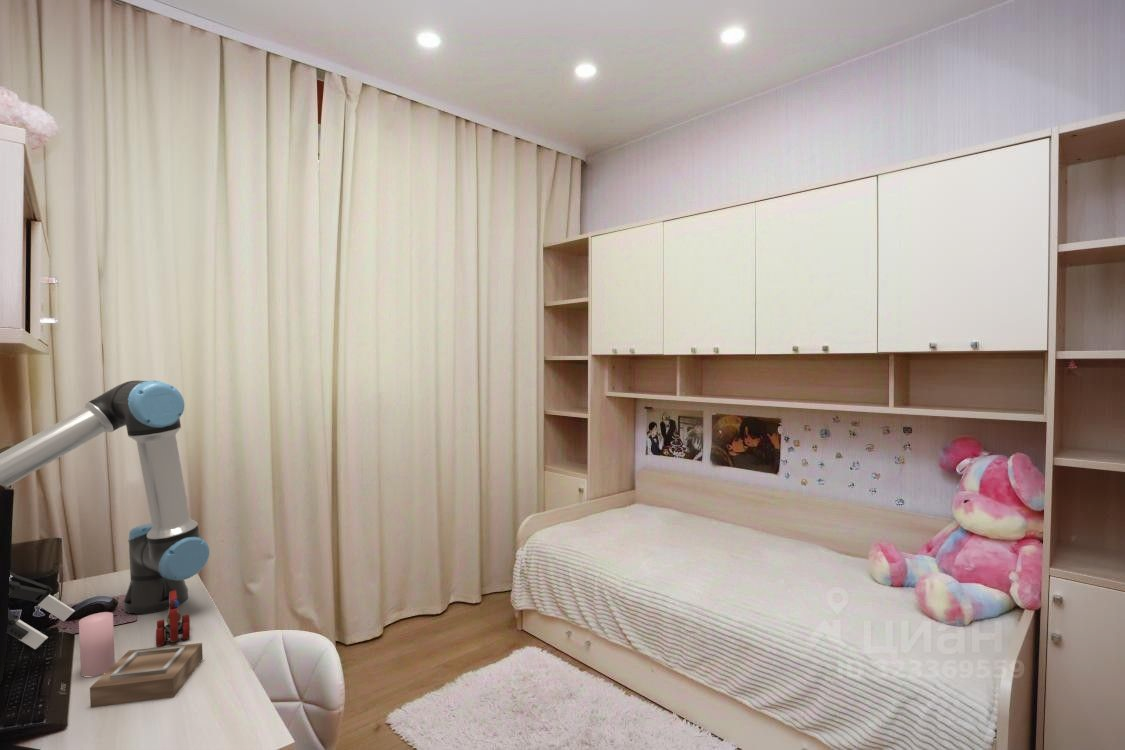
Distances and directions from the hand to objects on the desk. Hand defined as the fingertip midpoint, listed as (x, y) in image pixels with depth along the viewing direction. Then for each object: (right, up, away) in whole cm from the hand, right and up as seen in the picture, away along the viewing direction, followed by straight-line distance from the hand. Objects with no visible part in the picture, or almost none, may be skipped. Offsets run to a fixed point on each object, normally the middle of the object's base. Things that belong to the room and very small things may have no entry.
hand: (56, 629), depth 126 cm
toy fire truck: (+13, -11, +18) cm, 25 cm away
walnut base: (+22, -11, -1) cm, 24 cm away
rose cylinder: (+6, -11, +4) cm, 13 cm away
